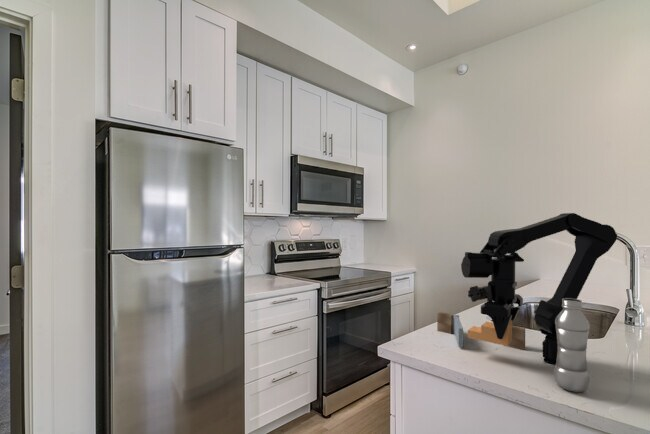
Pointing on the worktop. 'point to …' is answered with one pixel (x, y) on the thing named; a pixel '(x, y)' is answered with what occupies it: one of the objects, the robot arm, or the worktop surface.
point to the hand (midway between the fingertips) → (502, 336)
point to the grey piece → (458, 330)
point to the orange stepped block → (490, 334)
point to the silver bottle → (572, 347)
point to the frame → (447, 326)
